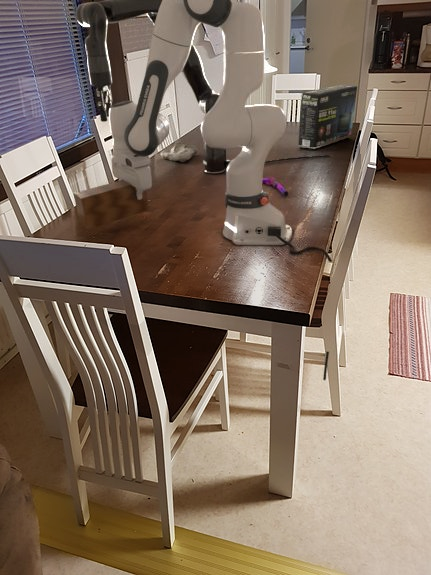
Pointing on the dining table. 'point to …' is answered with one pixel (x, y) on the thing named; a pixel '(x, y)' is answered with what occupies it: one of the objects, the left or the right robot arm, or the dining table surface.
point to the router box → (326, 115)
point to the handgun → (275, 184)
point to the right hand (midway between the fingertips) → (133, 195)
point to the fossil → (179, 152)
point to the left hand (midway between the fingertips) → (107, 118)
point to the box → (108, 203)
